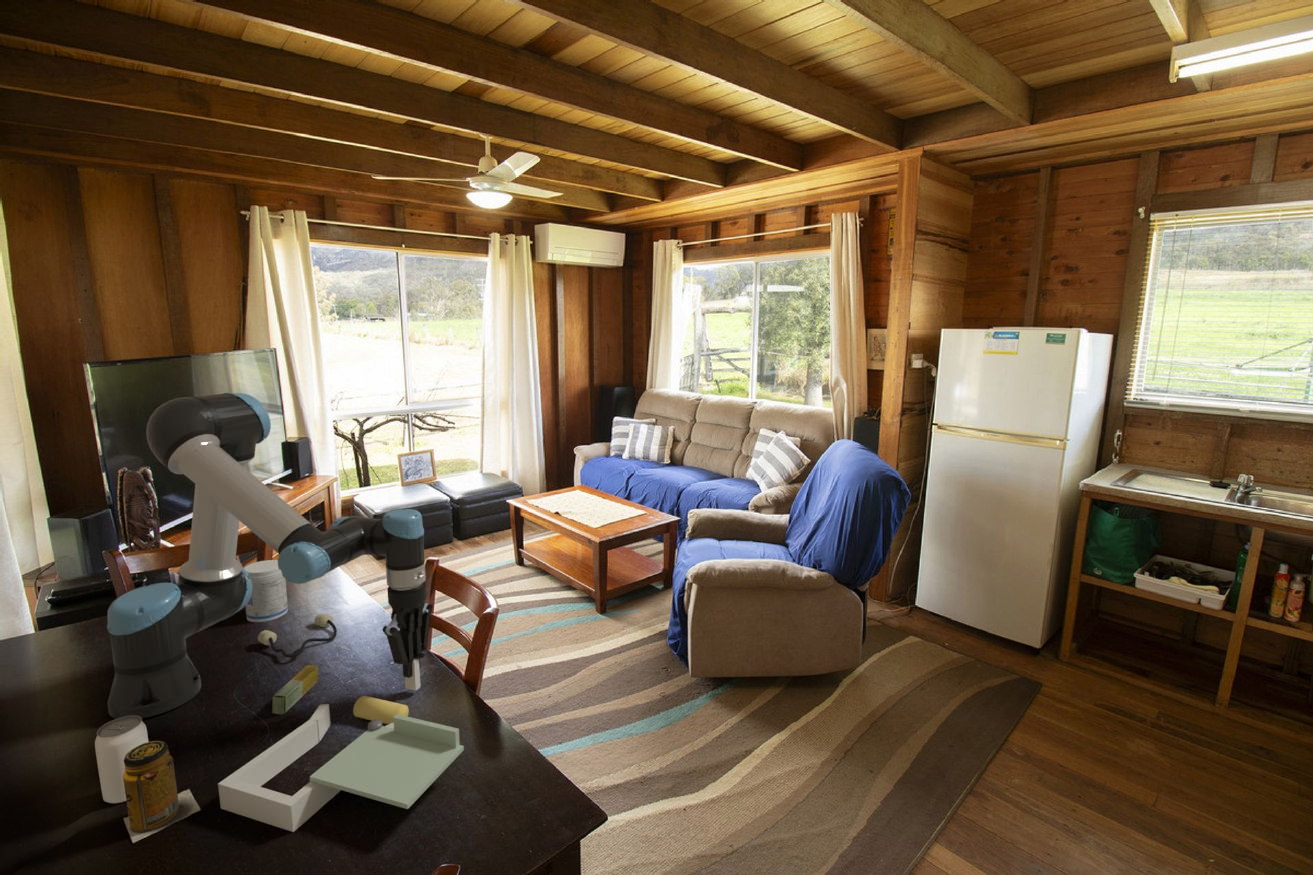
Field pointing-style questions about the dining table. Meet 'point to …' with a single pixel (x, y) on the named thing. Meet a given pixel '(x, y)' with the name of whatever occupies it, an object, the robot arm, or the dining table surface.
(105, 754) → the can
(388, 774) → the cover
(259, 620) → the supplement tub
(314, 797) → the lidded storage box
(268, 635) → the cable
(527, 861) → the dining table surface
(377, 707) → the yellow cardboard tube
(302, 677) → the medication box
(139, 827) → the condiment
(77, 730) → the dining table surface
